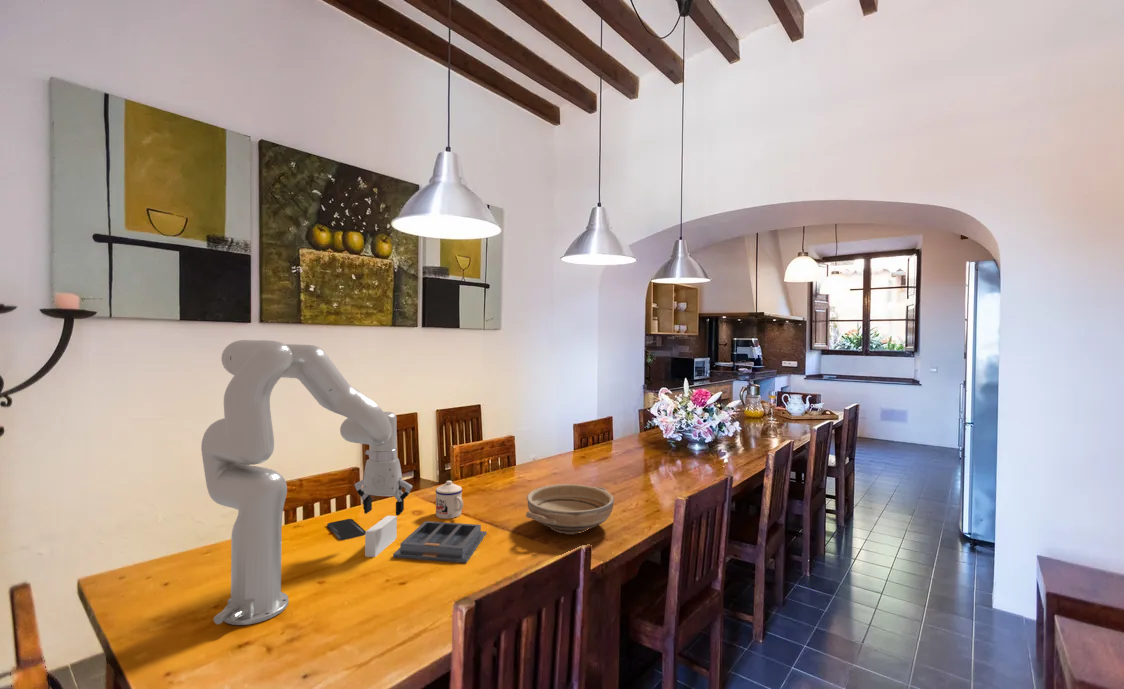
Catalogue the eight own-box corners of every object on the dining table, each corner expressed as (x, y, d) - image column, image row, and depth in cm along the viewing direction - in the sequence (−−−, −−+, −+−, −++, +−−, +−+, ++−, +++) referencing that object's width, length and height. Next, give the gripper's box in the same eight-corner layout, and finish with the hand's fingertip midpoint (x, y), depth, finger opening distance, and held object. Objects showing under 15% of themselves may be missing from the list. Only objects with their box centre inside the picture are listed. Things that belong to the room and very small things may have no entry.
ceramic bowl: (566, 558, 140) (566, 522, 140) (497, 531, 159) (498, 499, 159) (637, 523, 168) (637, 493, 168) (572, 503, 187) (572, 476, 187)
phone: (351, 518, 166) (366, 532, 154) (351, 521, 166) (366, 535, 154) (325, 523, 161) (339, 538, 149) (325, 527, 161) (339, 542, 149)
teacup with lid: (429, 514, 172) (430, 481, 172) (451, 508, 179) (451, 476, 179) (450, 523, 164) (451, 488, 164) (472, 516, 171) (473, 482, 171)
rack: (466, 563, 136) (466, 549, 136) (393, 557, 139) (393, 543, 139) (486, 534, 156) (486, 522, 156) (422, 530, 159) (422, 518, 158)
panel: (375, 557, 139) (375, 532, 139) (365, 556, 139) (365, 531, 139) (396, 539, 152) (396, 516, 152) (387, 538, 152) (387, 515, 152)
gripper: (348, 457, 143) (348, 516, 143) (405, 459, 140) (406, 519, 141) (362, 450, 150) (362, 506, 151) (416, 452, 148) (417, 509, 149)
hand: (383, 512), depth 146 cm, fingers open, 9 cm apart
